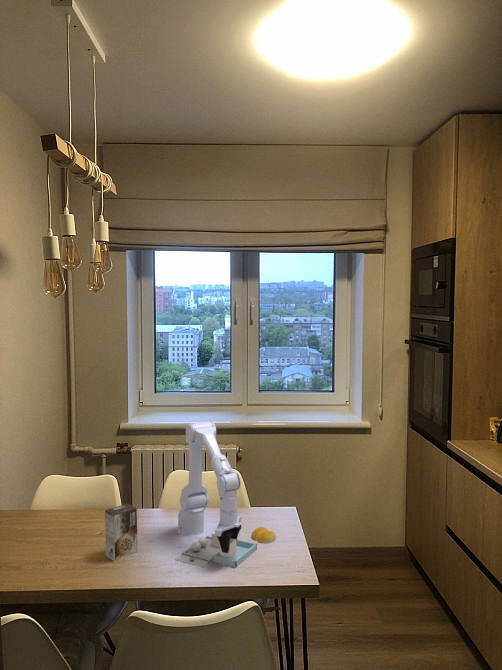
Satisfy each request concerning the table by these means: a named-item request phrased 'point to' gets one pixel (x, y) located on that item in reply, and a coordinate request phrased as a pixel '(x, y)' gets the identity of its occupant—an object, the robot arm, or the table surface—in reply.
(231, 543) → the stone block near
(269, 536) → the bread roll
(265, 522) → the table surface
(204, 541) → the pebble
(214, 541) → the stone block far
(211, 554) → the slate tray
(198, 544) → the pebble
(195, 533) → the robot arm
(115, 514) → the coffee box
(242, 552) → the blue bin
